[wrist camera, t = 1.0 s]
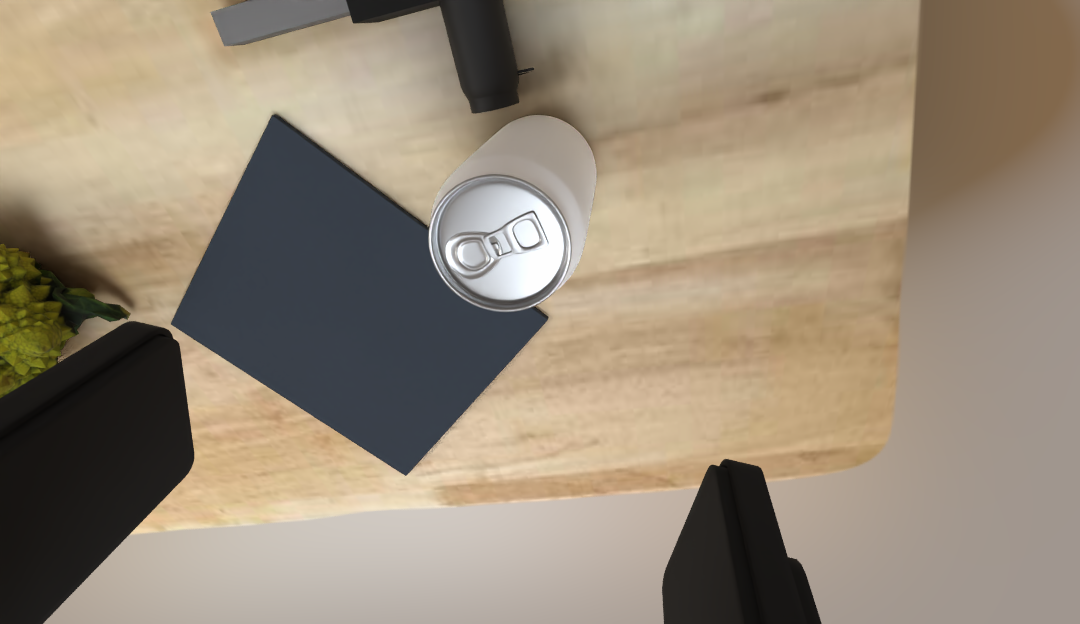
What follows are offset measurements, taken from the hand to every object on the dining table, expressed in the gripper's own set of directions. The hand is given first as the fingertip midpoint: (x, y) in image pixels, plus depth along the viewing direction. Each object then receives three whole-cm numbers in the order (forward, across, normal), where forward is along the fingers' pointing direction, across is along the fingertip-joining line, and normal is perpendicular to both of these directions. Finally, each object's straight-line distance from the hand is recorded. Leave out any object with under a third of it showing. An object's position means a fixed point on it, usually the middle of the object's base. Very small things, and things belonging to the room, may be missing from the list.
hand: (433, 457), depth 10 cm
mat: (+25, +12, +14) cm, 31 cm away
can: (+25, +1, +1) cm, 25 cm away
